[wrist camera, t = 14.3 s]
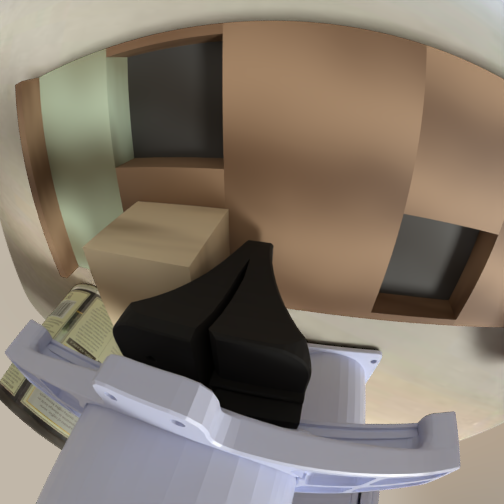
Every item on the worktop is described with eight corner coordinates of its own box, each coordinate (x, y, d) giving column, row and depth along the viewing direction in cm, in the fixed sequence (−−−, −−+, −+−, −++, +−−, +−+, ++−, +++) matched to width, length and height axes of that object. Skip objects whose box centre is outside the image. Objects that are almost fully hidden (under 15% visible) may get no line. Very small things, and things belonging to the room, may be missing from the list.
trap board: (501, 308, 14) (516, 342, 11) (87, 250, 20) (60, 276, 17) (564, 129, 6) (598, 146, 3) (54, 76, 12) (15, 85, 9)
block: (231, 291, 15) (203, 355, 12) (153, 276, 16) (114, 329, 13) (228, 209, 13) (188, 267, 9) (137, 201, 13) (82, 247, 10)
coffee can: (130, 363, 29) (78, 458, 18) (65, 307, 26) (-1, 395, 15) (169, 340, 24) (100, 474, 12) (82, 264, 21) (-17, 383, 9)
